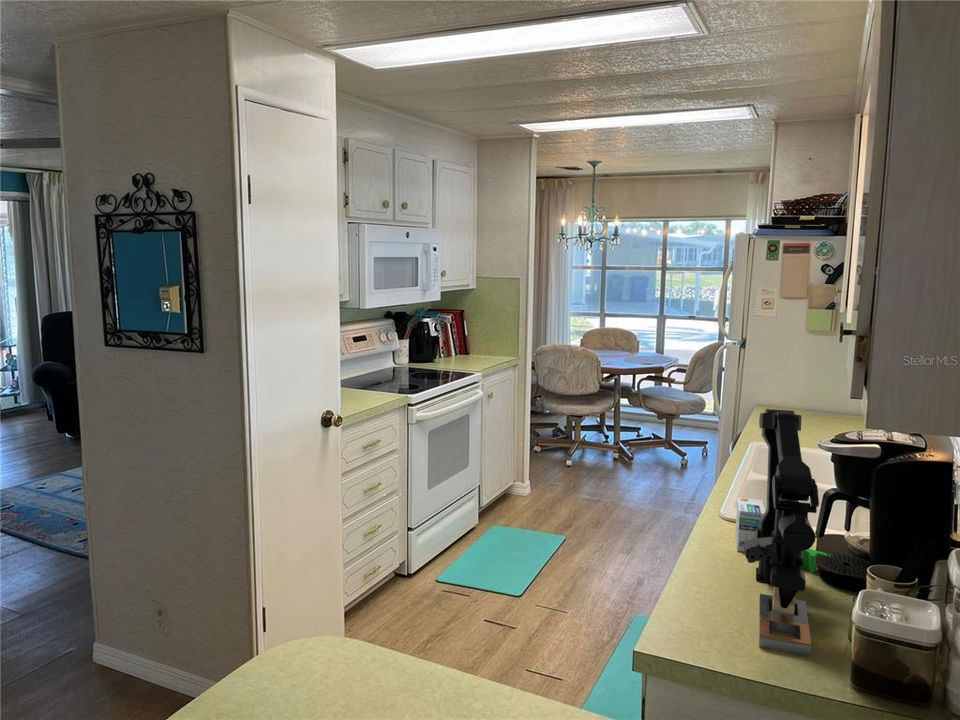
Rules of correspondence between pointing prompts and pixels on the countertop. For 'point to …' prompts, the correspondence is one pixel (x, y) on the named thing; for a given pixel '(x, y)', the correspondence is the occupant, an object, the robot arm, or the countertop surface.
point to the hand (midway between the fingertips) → (783, 602)
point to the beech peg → (777, 606)
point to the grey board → (784, 628)
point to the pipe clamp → (811, 559)
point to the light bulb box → (747, 520)
